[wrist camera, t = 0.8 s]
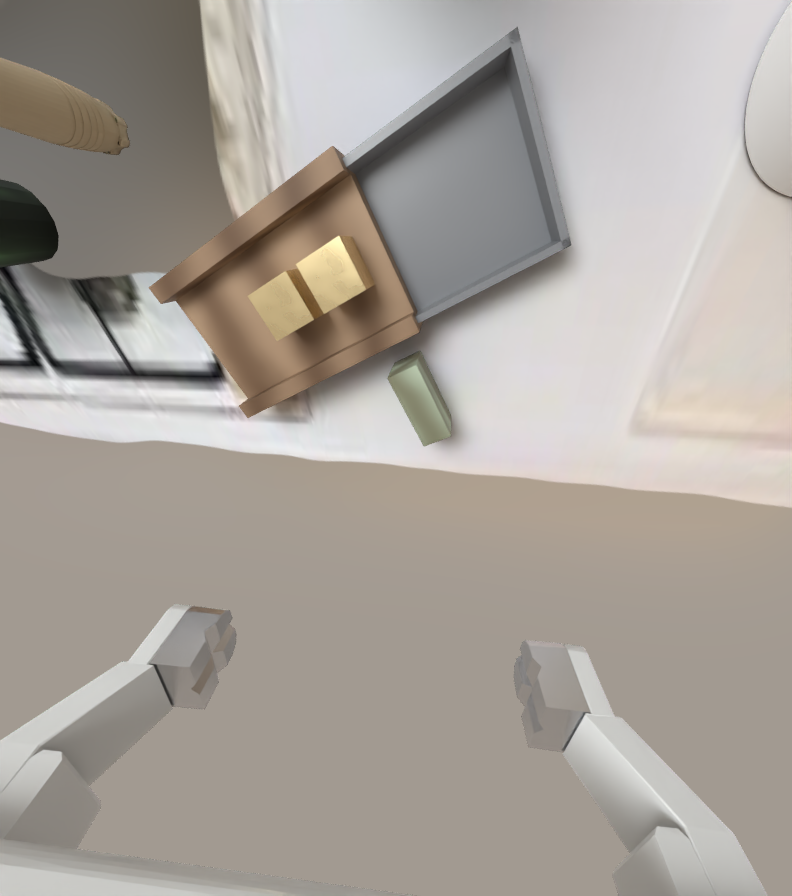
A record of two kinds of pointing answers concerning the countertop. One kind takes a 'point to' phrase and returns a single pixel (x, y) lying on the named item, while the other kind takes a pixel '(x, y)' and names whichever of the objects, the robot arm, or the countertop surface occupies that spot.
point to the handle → (57, 111)
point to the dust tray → (465, 182)
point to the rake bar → (421, 398)
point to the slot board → (278, 250)
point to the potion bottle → (24, 227)
